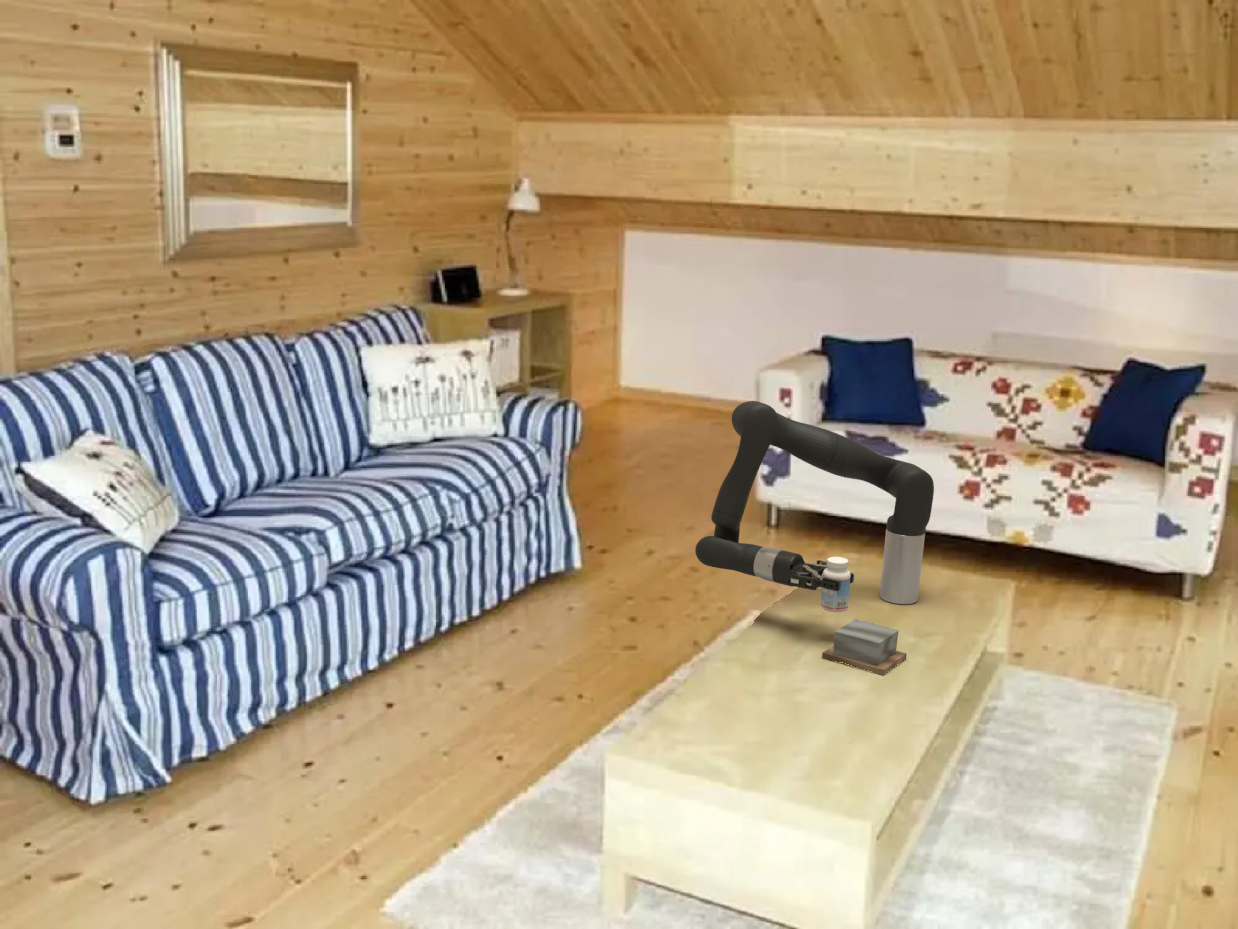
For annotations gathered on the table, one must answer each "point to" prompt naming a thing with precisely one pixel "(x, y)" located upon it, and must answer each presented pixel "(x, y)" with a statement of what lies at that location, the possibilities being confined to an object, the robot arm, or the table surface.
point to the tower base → (866, 647)
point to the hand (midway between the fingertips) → (846, 582)
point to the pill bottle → (840, 599)
